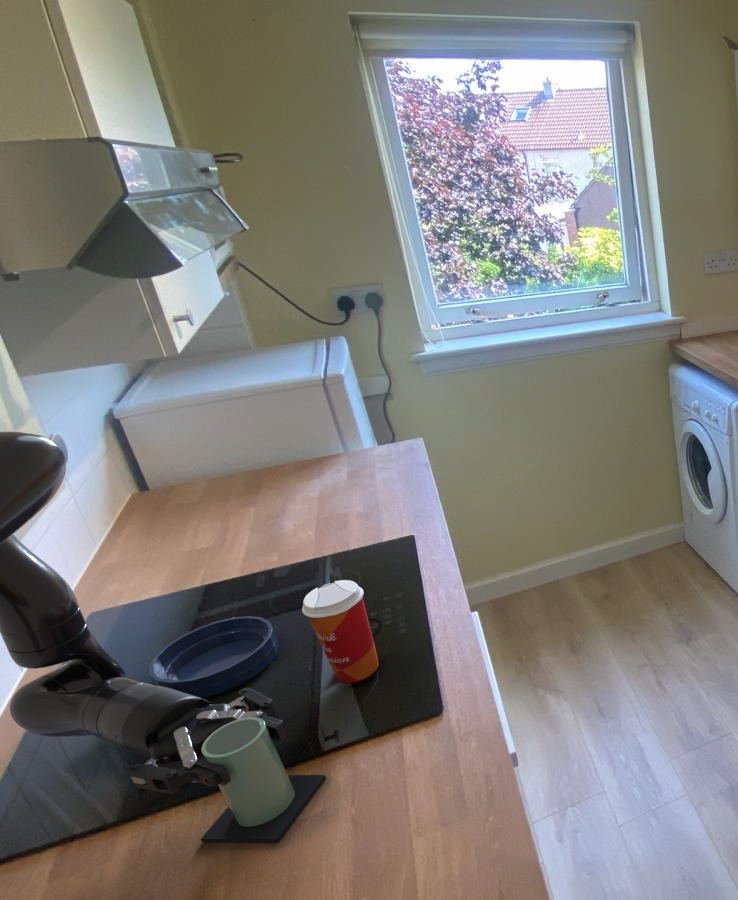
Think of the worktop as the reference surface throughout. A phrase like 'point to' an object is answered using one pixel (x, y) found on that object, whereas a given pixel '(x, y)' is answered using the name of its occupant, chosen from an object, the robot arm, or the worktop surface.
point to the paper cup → (342, 629)
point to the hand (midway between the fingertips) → (254, 754)
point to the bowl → (216, 656)
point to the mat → (273, 829)
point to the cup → (250, 771)
